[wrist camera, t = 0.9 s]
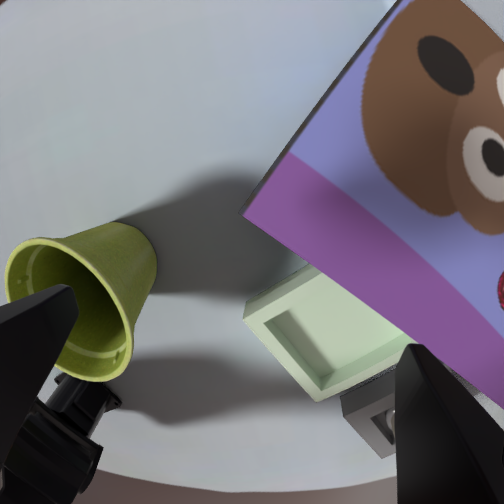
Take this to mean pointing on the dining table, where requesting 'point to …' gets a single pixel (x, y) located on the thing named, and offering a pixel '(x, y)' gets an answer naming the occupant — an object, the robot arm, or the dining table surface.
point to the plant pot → (90, 291)
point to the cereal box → (407, 184)
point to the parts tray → (323, 333)
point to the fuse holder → (373, 412)
